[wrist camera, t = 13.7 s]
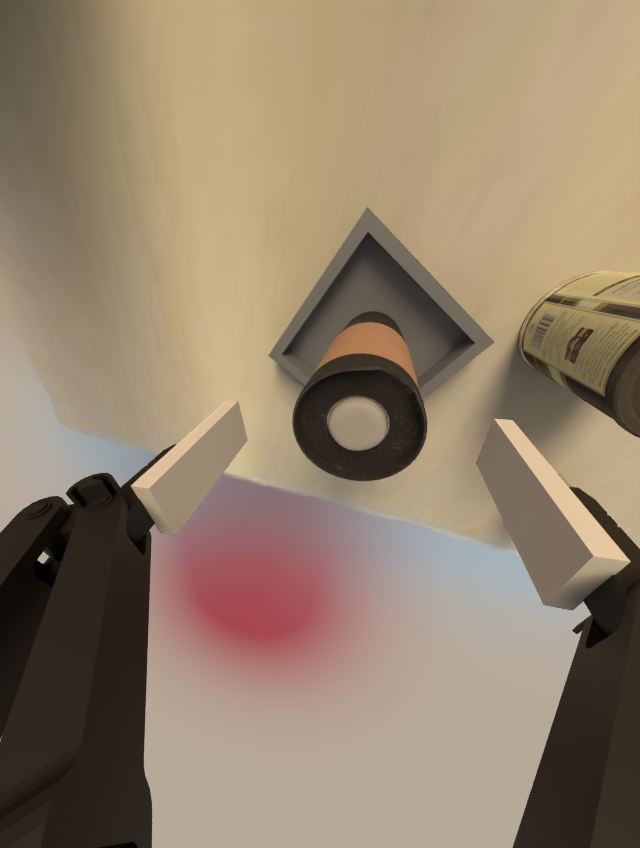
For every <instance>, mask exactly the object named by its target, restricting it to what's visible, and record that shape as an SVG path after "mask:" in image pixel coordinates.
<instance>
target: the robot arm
mask: <svg viewBox="0 0 640 848" xmlns="http://www.w3.org/2000/svg"><path fill="white" fill-rule="evenodd" d="M246 442H247V436H246V432H245V427H244V423H243V419H242V415H241V411H240V407H239V402H238V401H229V400H226V401H225V402H224V403H222V404H221V405H220V406H219V407H218V408H217V409H216V410H215V411H213V412H212V413H211V414H210V415H209V416H208V417H207V418H206V419H205V420H203V421H202V422H201V423H200V424H199V425H198V426H197V427H196V428H195V429H193V430H192V431H191V432H190V433H189V434H188V435H187V436H186V437H184V438H183V439H182V440H181V441H180V442H179V443H178V444H177V445H176V444H174V445H172V446H171V447H169V448H167V449H165V450H163V451H162V452H161V453H160V454H159V455H158V456H157V457H155V459H154V460H152V461H151V462H150V463H148V465H147V466H145V467H144V468H143V469H141V470H140V471H139V472H138V473H137V474H136V475H135V476H133V477H132V478H131V479H130V480H129V481H128V482H127V483H125V484H124V485H123V486H122V487H121V488H120V487H119V485H118V484H117V482H116V481H115V479H114V478H113V476H112V475H110V474H109V473H99V474H95V475H91V476H89V477H86V478H84V479H82V480H80V481H79V482H77V483H75V484H74V485H73V486H72V487H70V488H69V490H68V491H67V493H66V495H67V496H68V497H69V498H70V499H71V500H72V501H73V502H74V504H72V505H68V504H67V503H66V502H65V501H64V500H63V499H62V498H61V497H58V496H53V497H48V498H44V499H41V500H38V501H37V502H34V503H32V504H30V505H29V506H27V507H26V508H24V509H23V510H22V511H21V512H19V513H18V514H17V515H16V516H15V518H13V520H12V521H11V522H10V523H9V524H8V525H7V526H6V527H5V528H4V530H3V531H2V532H1V533H0V738H1V736H2V738H1V741H0V848H152V801H151V795H150V788H149V785H148V782H147V780H146V777H145V772H144V735H145V706H146V703H145V702H146V676H147V648H148V620H149V619H148V618H149V592H150V563H151V533H150V531H149V530H150V528H151V527H152V526H153V525H154V524H155V525H156V527H157V528H158V530H159V531H160V532H161V533H165V534H170V535H177V533H179V531H180V530H181V529H182V527H183V526H184V525H185V523H186V522H187V521H188V519H189V518H190V516H191V515H192V514H193V513H194V511H195V510H196V508H197V507H198V506H199V504H200V503H201V502H202V500H203V499H204V498H205V496H206V495H207V493H208V492H209V491H210V490H211V488H212V487H213V486H214V484H215V483H216V482H217V480H218V479H219V478H220V476H221V475H222V474H223V472H224V471H225V470H226V468H227V467H228V466H229V464H230V463H231V462H232V460H233V459H234V458H235V456H236V455H237V454H238V452H239V451H240V450H241V448H242V447H243V446H244V444H245V443H246ZM476 464H477V466H478V468H479V470H480V472H481V474H482V476H483V478H484V481H485V483H486V485H487V487H488V489H489V491H490V493H491V495H492V497H493V499H494V502H495V504H496V506H497V508H498V510H499V512H500V514H501V516H502V518H503V520H504V523H505V525H506V527H507V529H508V531H509V533H510V535H511V537H512V539H513V541H514V544H515V546H516V548H517V550H518V552H519V554H520V556H521V558H522V560H523V563H524V565H525V567H526V569H527V571H528V573H529V575H530V577H531V579H532V581H533V583H534V586H535V588H536V590H537V592H538V594H539V596H540V598H541V600H542V602H543V605H547V606H553V607H557V608H563V609H568V610H574V609H575V608H576V607H577V606H578V605H580V604H581V603H582V602H583V601H584V603H585V604H586V606H587V607H588V609H589V611H590V613H591V614H592V615H590V616H589V617H588V618H586V619H585V620H584V621H582V622H581V623H580V624H578V625H577V626H576V627H575V628H574V629H573V632H575V633H576V634H578V633H579V632H581V631H582V630H583V631H582V634H581V637H580V640H579V643H578V646H577V649H576V652H575V655H574V658H573V662H572V665H571V668H570V671H569V674H568V678H567V681H566V683H565V686H564V690H563V693H562V696H561V699H560V702H559V706H558V708H557V712H556V715H555V718H554V721H553V724H552V727H551V730H550V733H549V736H548V740H547V743H546V746H545V749H544V752H543V755H542V758H541V761H540V764H539V767H538V770H537V774H536V777H535V780H534V783H533V786H532V789H531V792H530V795H529V798H528V801H527V805H526V808H525V811H524V814H523V817H522V820H521V823H520V826H519V829H518V833H517V836H516V839H515V842H514V845H513V848H640V549H639V548H638V547H637V546H636V544H635V543H634V542H633V541H632V540H631V539H630V538H629V537H628V536H627V534H626V533H625V532H624V531H623V530H622V529H621V528H620V527H617V523H616V522H615V521H614V520H613V519H612V518H611V517H610V516H608V515H607V512H606V511H605V510H604V509H603V508H602V507H601V506H600V505H599V503H598V502H597V501H596V500H595V499H593V498H592V497H591V496H589V495H588V494H586V493H585V492H584V491H582V490H581V489H579V488H575V487H568V486H567V485H566V484H565V482H564V481H563V480H562V479H561V478H560V476H559V475H558V474H557V473H556V472H555V470H554V469H553V468H552V467H551V466H550V464H549V463H548V462H547V461H546V460H545V458H544V457H543V456H542V455H541V454H540V452H539V451H538V450H537V449H536V448H535V446H534V445H533V444H532V443H531V442H530V440H529V439H528V438H527V437H526V436H525V434H524V433H523V432H522V431H521V430H520V428H519V427H518V426H517V425H516V424H515V422H514V421H513V420H506V419H494V420H493V423H492V425H491V428H490V430H489V433H488V435H487V437H486V440H485V442H484V445H483V447H482V450H481V452H480V455H479V457H478V460H477V462H476ZM43 551H44V552H45V553H46V554H47V555H48V556H49V558H48V559H47V561H46V562H45V563H44V564H42V563H40V562H39V561H38V560H37V559H38V557H39V556H40V555H41V554H42V552H43ZM2 734H3V735H2Z"/></svg>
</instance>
